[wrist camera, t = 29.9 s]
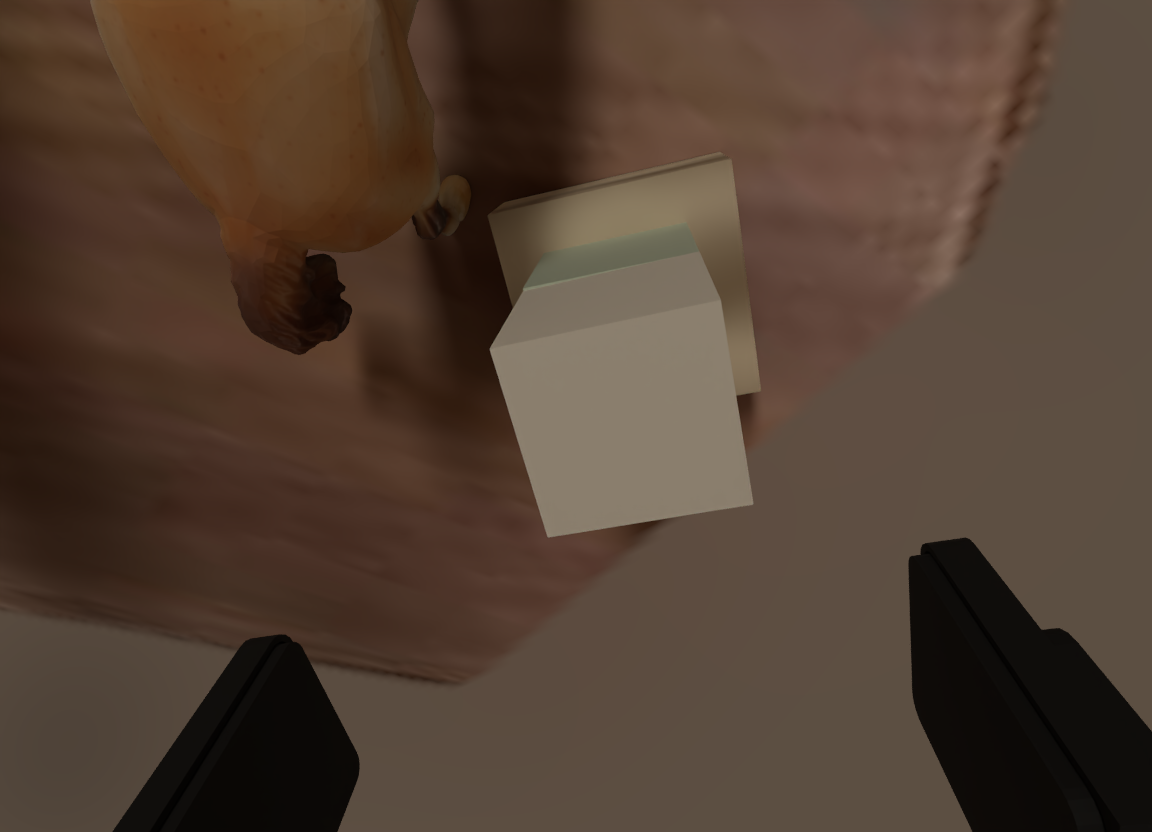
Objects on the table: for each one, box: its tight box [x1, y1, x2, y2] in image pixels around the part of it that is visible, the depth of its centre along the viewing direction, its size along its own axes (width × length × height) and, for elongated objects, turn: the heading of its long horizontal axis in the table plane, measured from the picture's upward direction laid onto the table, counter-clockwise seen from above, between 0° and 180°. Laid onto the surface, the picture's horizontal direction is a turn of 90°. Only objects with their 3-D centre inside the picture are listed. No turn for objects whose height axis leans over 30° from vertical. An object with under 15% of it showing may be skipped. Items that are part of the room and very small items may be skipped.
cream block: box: [490, 251, 753, 537], centre depth 21 cm, size 6×6×6 cm
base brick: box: [488, 152, 761, 396], centre depth 31 cm, size 10×10×4 cm
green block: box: [523, 222, 699, 291], centre depth 26 cm, size 6×6×6 cm
